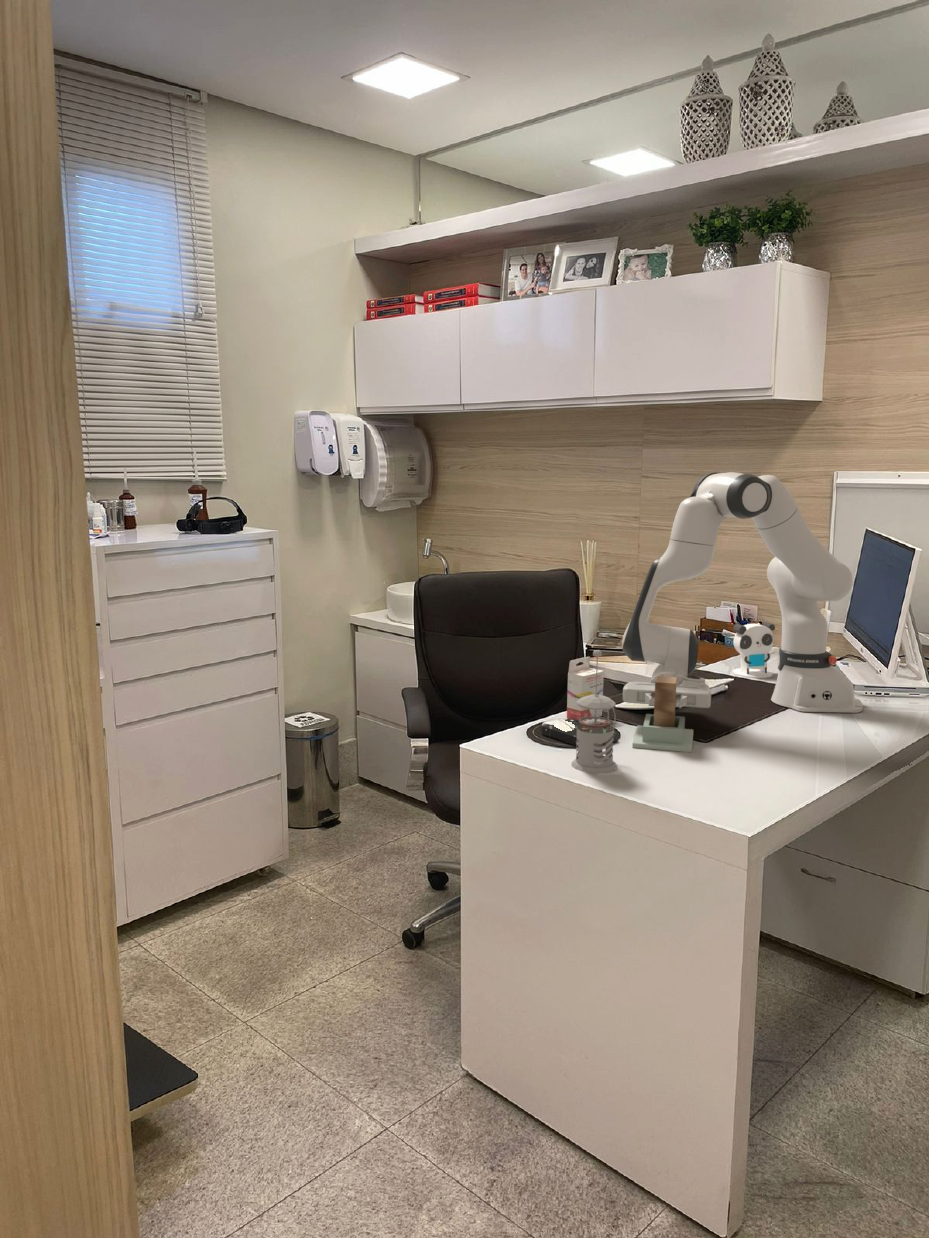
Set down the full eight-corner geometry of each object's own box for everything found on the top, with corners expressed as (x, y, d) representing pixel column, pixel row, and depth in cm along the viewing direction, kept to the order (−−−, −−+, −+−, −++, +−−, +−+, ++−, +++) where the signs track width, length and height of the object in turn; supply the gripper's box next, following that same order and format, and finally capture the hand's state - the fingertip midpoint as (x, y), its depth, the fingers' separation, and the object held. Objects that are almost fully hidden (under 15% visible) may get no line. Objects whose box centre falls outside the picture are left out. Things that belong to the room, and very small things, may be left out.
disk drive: (540, 737, 221) (587, 752, 209) (540, 725, 220) (587, 739, 209) (570, 728, 227) (618, 742, 216) (571, 717, 227) (618, 730, 216)
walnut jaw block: (674, 727, 218) (676, 677, 216) (673, 734, 212) (675, 683, 210) (654, 725, 219) (656, 675, 217) (653, 733, 213) (655, 682, 211)
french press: (561, 765, 199) (564, 650, 194) (591, 752, 208) (594, 641, 203) (601, 776, 193) (605, 657, 188) (630, 761, 202) (634, 648, 197)
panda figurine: (743, 679, 272) (746, 628, 270) (723, 670, 283) (726, 621, 280) (780, 676, 275) (783, 626, 272) (759, 667, 286) (762, 619, 283)
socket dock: (693, 733, 221) (694, 715, 220) (691, 752, 208) (692, 732, 207) (637, 729, 224) (638, 711, 224) (632, 747, 211) (633, 728, 210)
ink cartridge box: (581, 722, 230) (583, 664, 227) (566, 718, 233) (567, 660, 231) (603, 715, 236) (605, 658, 233) (587, 711, 239) (589, 655, 236)
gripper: (624, 673, 229) (619, 687, 216) (711, 678, 224) (711, 693, 211) (624, 698, 230) (618, 713, 217) (710, 704, 225) (710, 720, 212)
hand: (665, 703), depth 214 cm, fingers closed on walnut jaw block, 4 cm apart
